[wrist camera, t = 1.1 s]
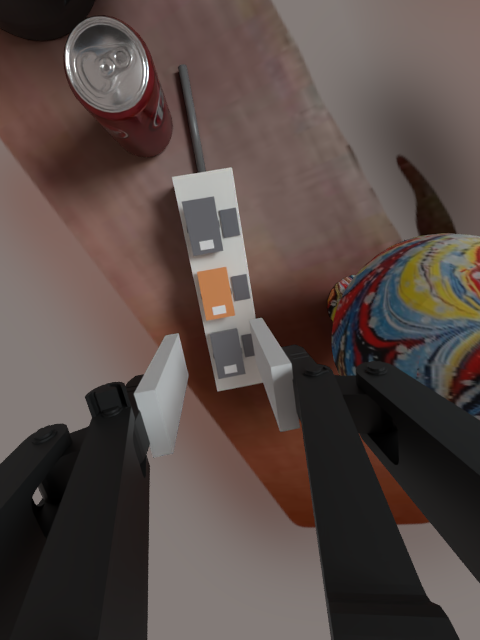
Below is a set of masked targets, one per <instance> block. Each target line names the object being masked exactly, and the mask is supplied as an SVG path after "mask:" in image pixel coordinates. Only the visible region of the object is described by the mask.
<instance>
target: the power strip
mask: <svg viewBox="0 0 480 640" xmlns="http://www.w3.org/2000/svg"><path fill="white" fill-rule="evenodd" d="M178 69H179V75H180V80H181V85H182V91H183V96H184V101H185V107H186V112H187V117H188V122H189V128H190V133H191V138H192V144H193V149H194V154H195V159H196V165H197V170H198V173H194V174H188V175H182V176H176V177H172V180H173V184H174V189H175V194H176V198H177V203H178V208H179V213H180V217H181V222H182V227H183V231H184V236H185V241H186V246H187V250H188V255H189V260H190V264H191V269H192V274H193V279H194V283H195V288H196V293H197V297H198V302H199V307H200V311H201V316H202V321H203V326H204V330H205V335H206V340H207V344H208V349H209V354H210V359H211V363H212V368H213V373H214V377H215V382H216V387H217V392H218V391H223V390H228V389H233V388H238V387H243V386H249V385H254V384H259V383H263V381H262V378H261V375H260V373H259V370H258V367H257V364H256V359H255V353H254V347H253V341H252V335H251V329H250V323H249V320H252V319H256V317H255V310H254V304H253V298H252V292H251V285H250V279H249V273H248V266H247V260H246V254H245V247H244V241H243V235H242V229H241V222H240V216H239V210H238V203H237V197H236V191H235V184H234V178H233V172H232V167H231V168H225V169H219V170H213V171H207V172H206V170H205V164H204V159H203V153H202V148H201V142H200V137H199V131H198V126H197V120H196V115H195V109H194V104H193V98H192V93H191V87H190V82H189V76H188V71H187V66H186V65H180V66H179V67H178ZM212 196H214V199H215V205H216V211H217V217H218V220H219V223H220V234H221V240H222V245H223V251H220V252H214V253H208V254H203V255H197V256H193V252H192V247H191V243H190V238H189V233H188V232H187V227H186V226H187V224H186V220H185V215H184V211H183V206H182V201H188V200H194V199H200V198H206V197H212ZM222 267H226V268H227V273H228V279H229V284H230V288H231V291H232V294H231V295H232V301H233V306H234V311H235V316H229V317H224V318H219V319H213V320H208V321H206V317H205V311H204V306H203V301H202V299H201V291H200V286H199V281H198V276H197V272H199V271H205V270H211V269H216V268H222ZM234 328H237V329H238V335H239V340H240V346H241V348H242V353H243V354H242V357H243V362H244V368H245V373H246V374H242V375H237V376H232V377H227V378H222V379H218V374H217V369H216V364H215V359H214V357H213V348H212V343H211V338H210V333H212V332H218V331H223V330H228V329H234Z"/></svg>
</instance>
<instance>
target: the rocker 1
mask: <svg viewBox="0 0 480 640" xmlns="http://www.w3.org/2000/svg"><path fill="white" fill-rule="evenodd" d="M182 206H183V211H184V215H185V220H186V224H187V226H186V227H187V232H188V233H189V238H190V243H191V247H192V252H193V256H197V255H203V254H208V253H214V252H220V251H223V245H222V240H221V234H220V223H219V220H218V217H217V211H216V205H215V199H214V196H212V197H206V198H200V199H194V200H188V201H182Z"/></svg>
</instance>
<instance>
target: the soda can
mask: <svg viewBox="0 0 480 640" xmlns="http://www.w3.org/2000/svg"><path fill="white" fill-rule="evenodd" d="M63 57H64V69H65V74H66V78H67V81H68V84H69V86H70V88H71V90H72V92H73V94H74V95H75V97H76V98H77V99H78V101H79V102H80V103H81V104H82V105H83V106H84V107H85V108H86V110H87V111H88V112H89V113H90V114H91V115H92V116H93V117H94V118H95V119H96V120H97V121H98V122H99V123H100V124H101V125H102V126H103V128H104V129H105V130H106V131H107V132H108V133H109V134H110V135H111V136H112V137H113V138H114V139H115V140H116V141H117V142H118V143H119V144H120V146H121V147H122V148H124V149H125V150H126V151H127V152H129V153H131V154H133V155H135V156H138V157H152V156H155V155H157V154H159V153H161V152H162V151H163V150H164V149H165V148H166V146H167V145H168V144H169V141H170V139H171V136H172V129H173V123H172V117H171V114H170V111H169V108H168V105H167V102H166V99H165V96H164V93H163V90H162V87H161V84H160V81H159V78H158V75H157V72H156V69H155V66H154V63H153V60H152V57H151V54H150V52H149V50H148V48H147V46H146V44H145V42H144V41H143V39H142V38H141V37H140V35H139V34H138V33H137V32H136V31H135V30H134V29H133V28H132V27H130V26H129V25H128V24H126V23H125V22H123V21H121V20H119V19H117V18H114V17H110V16H105V15H101V16H93V17H89V18H86V19H85V20H83V21H81V22H80V23H78V24H77V25H76V27H75V28H74V29H73V30H72V31H71V33H70V35H69V36H68V39H67V41H66V44H65V49H64V56H63Z"/></svg>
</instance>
